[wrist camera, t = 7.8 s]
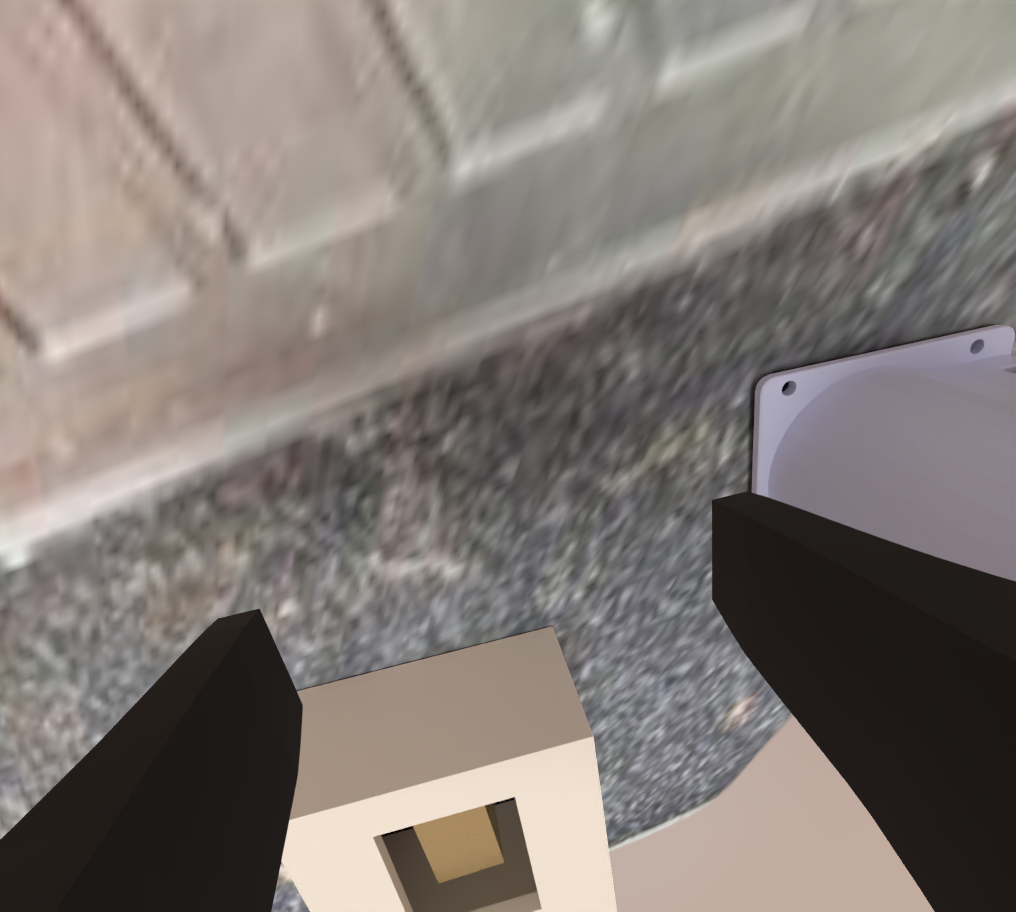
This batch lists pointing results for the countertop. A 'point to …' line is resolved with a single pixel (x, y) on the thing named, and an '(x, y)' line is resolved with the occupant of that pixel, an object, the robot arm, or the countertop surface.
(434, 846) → the block
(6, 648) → the countertop surface
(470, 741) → the box
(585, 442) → the countertop surface
